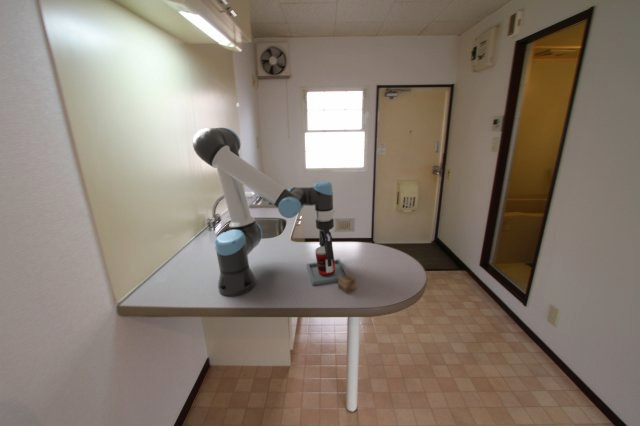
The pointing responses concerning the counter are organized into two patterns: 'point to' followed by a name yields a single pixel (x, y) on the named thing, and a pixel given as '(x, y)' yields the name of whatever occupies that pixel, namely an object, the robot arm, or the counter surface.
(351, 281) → the walnut block
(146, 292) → the counter surface
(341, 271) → the tray
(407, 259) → the counter surface
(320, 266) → the canned food
